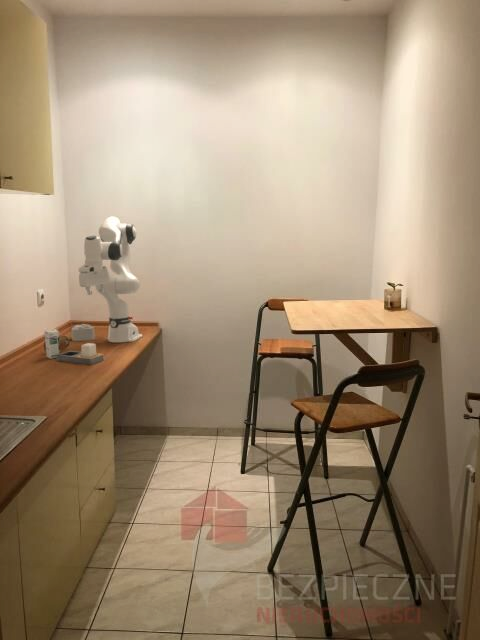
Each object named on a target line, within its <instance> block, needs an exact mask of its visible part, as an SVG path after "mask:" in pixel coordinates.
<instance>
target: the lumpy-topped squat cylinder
mask: <svg viewBox="0 0 480 640" xmlns="http://www.w3.org/2000/svg"><path fill="white" fill-rule="evenodd" d="M70 329H71V341H72V342H84V341H85V342H86V341H92V340H95V337H96V336H95V326H93V325H90V324H85V323H82V324H76V325H74V326H72V328H70Z"/></svg>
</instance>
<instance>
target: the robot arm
mask: <svg viewBox="0 0 480 640" xmlns="http://www.w3.org/2000/svg"><path fill="white" fill-rule="evenodd" d="M98 235H99V236H98ZM98 235H89V236H86V237H85V238H84V244H83V245H84V246H83V248H84V249H83V250H84V256H85V257H84V258H85V260H84V264H83V265H81V266H80V267H79V268H78V272H79V274H78V282H79V286H80V287H81V288H85V290H86V292H87V296H92V295H93V291H92V290H91V287H93V286H95V290H96V291H97V293H98V294H100V295H102V296H103V298H104V299H105V300H106V302H107V305H108V311H109V318H108V322H109V325H108V337H107V340H108V342H110V343H127V342H129V343H131V342H135V341H137V340H138V339H140V338H142V337H143V334H141V333H139V328H138V326H136V325H135V324H134V323H132V321H131V320H133V319H134V317H133V315H132V316H131V315H130V316H129V313H130V312H129V305H128V302H127V301H126V300H123V299H121V298H120V297H119V296H118V295H130V294H134V293H137V292H138V291H139V290H140V286H141V284H140V281H139V278H138V277H137V276H135V275H134V274H133V273H132V272H131V269H130V259H131V251H130V246H129V245H132V244H133V242H134V241H135V239H136V237H137V229H136V226H135V225H134V224H132V223H121V220H120V219H119V218H118V217H116V216H108V217H107V218H106V219H104V221H102V223H101V224H100V226H99V228H98ZM103 261H110V264H109V265H110V266H109V267H110V269H111V271H112V272H113V273H114V274H116V275H110V274H109V273H110V272H109V271H108V268H107V267H106V265H104V264H103Z"/></svg>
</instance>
